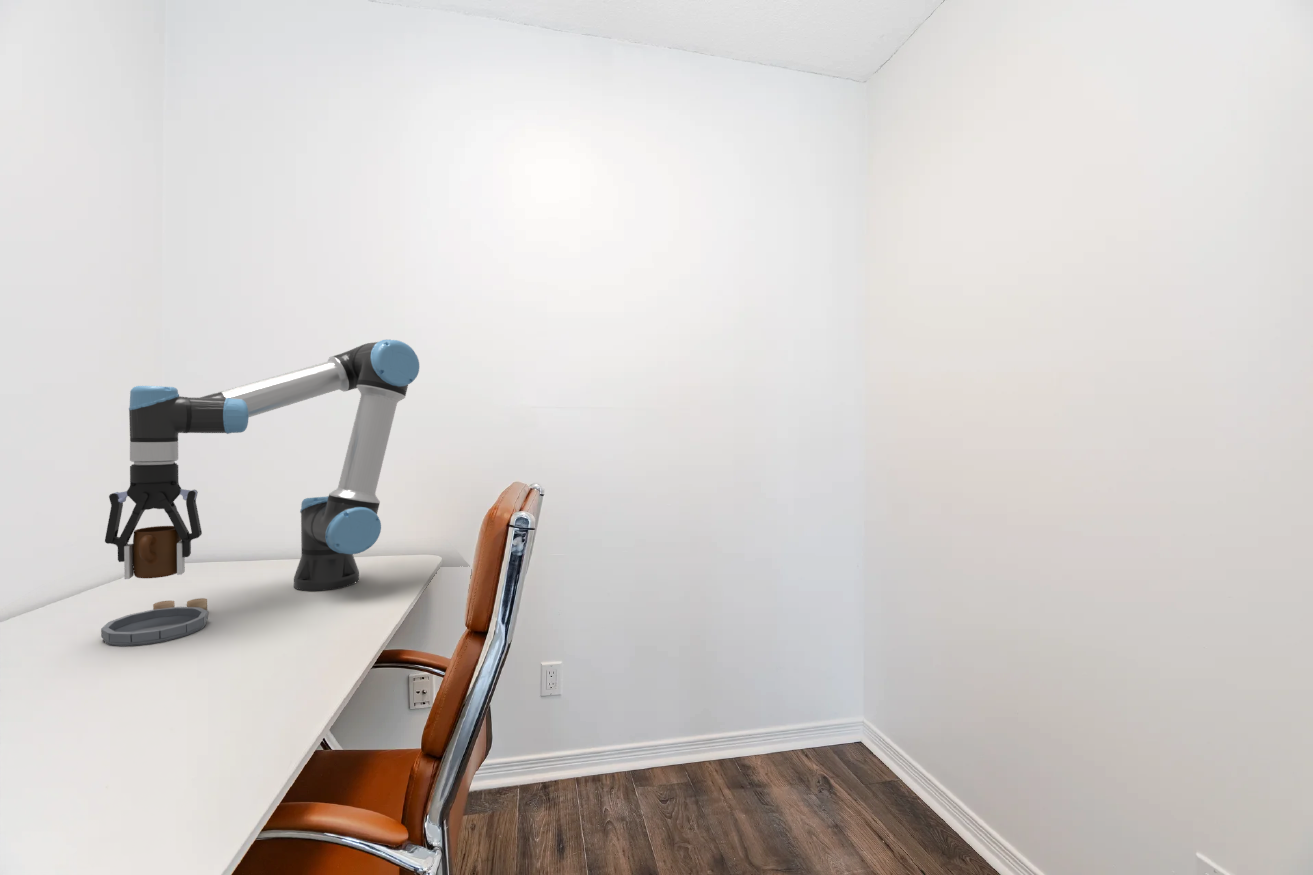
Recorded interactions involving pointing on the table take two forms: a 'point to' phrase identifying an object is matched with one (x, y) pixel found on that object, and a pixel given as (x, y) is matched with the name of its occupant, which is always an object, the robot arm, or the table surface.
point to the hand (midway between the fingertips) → (155, 575)
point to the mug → (155, 551)
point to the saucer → (154, 626)
